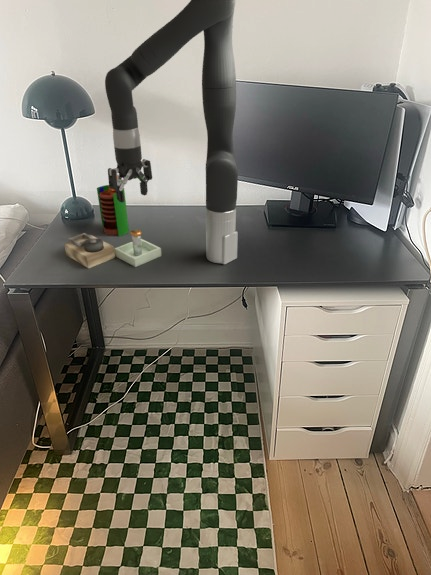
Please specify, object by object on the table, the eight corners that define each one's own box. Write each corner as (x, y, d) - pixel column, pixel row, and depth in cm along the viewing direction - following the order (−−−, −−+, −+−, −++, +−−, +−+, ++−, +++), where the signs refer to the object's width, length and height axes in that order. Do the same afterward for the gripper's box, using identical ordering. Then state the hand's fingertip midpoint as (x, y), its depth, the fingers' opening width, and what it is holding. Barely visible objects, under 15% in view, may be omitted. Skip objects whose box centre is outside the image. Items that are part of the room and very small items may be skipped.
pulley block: (115, 257, 147) (112, 238, 143) (88, 268, 141) (85, 248, 137) (91, 245, 155) (88, 226, 151) (65, 254, 149) (61, 235, 145)
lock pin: (145, 254, 148) (143, 231, 143) (137, 257, 146) (134, 235, 141) (139, 251, 150) (136, 228, 145) (130, 254, 148) (128, 231, 143)
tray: (161, 255, 148) (160, 248, 147) (135, 267, 142) (134, 259, 140) (141, 245, 154) (140, 238, 153) (115, 256, 148) (114, 248, 146)
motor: (97, 232, 164) (89, 178, 153) (112, 223, 171) (106, 171, 160) (119, 237, 160) (112, 182, 149) (134, 228, 167) (129, 175, 156)
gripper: (114, 151, 123) (121, 207, 131) (154, 141, 131) (158, 195, 140) (98, 146, 127) (106, 201, 135) (138, 137, 136) (143, 189, 144)
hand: (133, 198), depth 138 cm, fingers open, 8 cm apart
